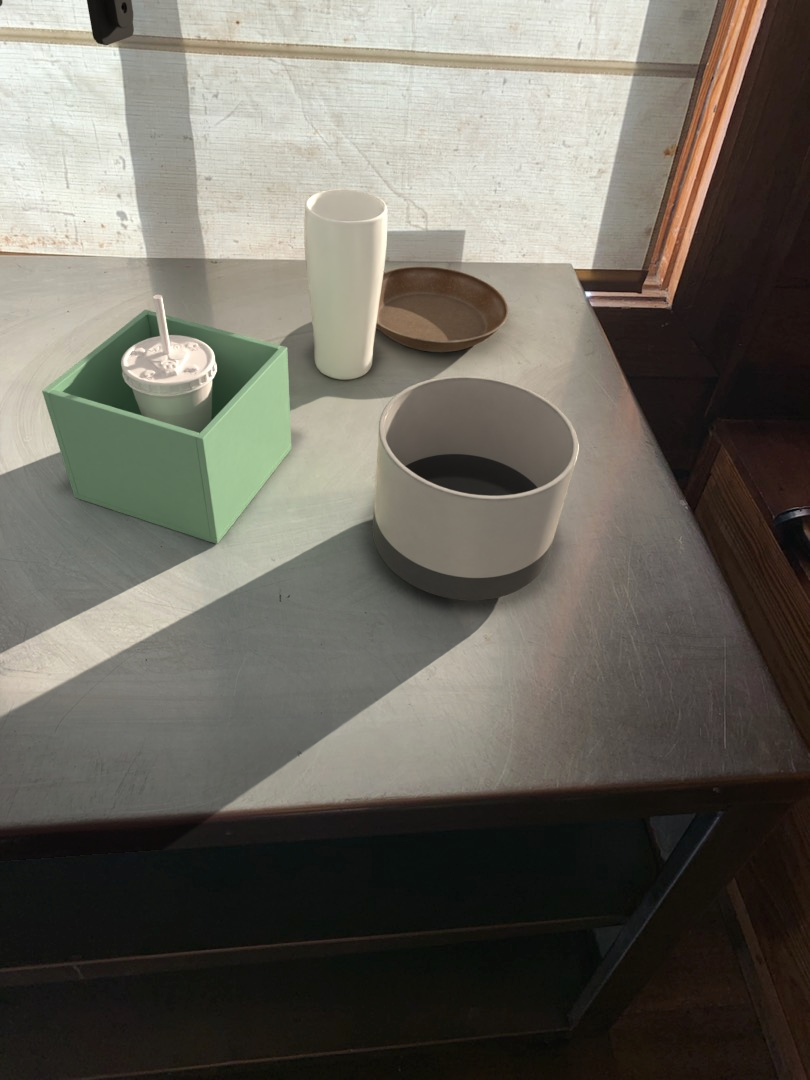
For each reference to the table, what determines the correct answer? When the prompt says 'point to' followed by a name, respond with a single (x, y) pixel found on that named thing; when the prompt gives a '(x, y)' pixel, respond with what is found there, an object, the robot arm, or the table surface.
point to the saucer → (438, 308)
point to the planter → (470, 485)
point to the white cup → (344, 277)
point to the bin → (174, 432)
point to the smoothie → (171, 376)
